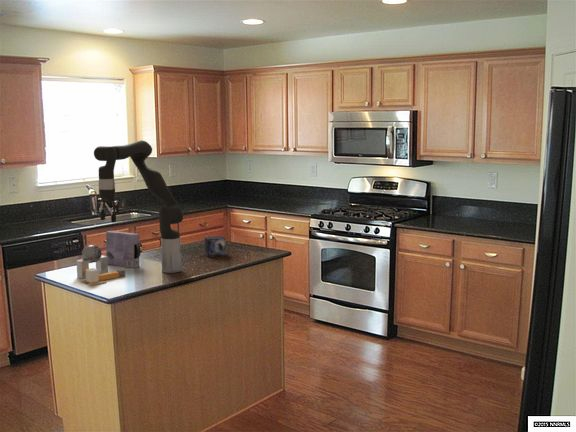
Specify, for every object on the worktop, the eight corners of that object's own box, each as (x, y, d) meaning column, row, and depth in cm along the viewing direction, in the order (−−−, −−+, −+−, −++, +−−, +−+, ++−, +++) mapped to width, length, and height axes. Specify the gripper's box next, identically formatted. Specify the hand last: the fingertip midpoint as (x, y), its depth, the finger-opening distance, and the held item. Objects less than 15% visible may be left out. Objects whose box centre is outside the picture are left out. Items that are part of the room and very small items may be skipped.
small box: (207, 257, 326) (207, 239, 324) (204, 255, 332) (204, 236, 330) (226, 255, 330) (225, 237, 329) (222, 253, 336) (222, 235, 334)
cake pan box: (141, 266, 307) (140, 233, 304) (136, 268, 303) (134, 234, 299) (111, 262, 314) (110, 230, 311) (105, 264, 310) (104, 231, 307)
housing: (107, 273, 293) (106, 243, 291) (82, 279, 283) (80, 248, 280) (102, 271, 296) (101, 242, 294) (77, 277, 286) (75, 247, 283)
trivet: (106, 282, 277) (106, 281, 277) (92, 286, 271) (92, 284, 271) (94, 279, 283) (94, 277, 283) (81, 282, 278) (81, 280, 278)
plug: (120, 274, 291) (120, 263, 290) (125, 276, 288) (125, 265, 287) (85, 281, 276) (85, 269, 276) (90, 282, 274) (90, 271, 273)
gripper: (91, 187, 285) (92, 220, 288) (109, 190, 277) (110, 223, 279) (104, 185, 291) (105, 218, 294) (122, 188, 282) (123, 221, 285)
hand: (108, 220), depth 287 cm, fingers open, 8 cm apart
